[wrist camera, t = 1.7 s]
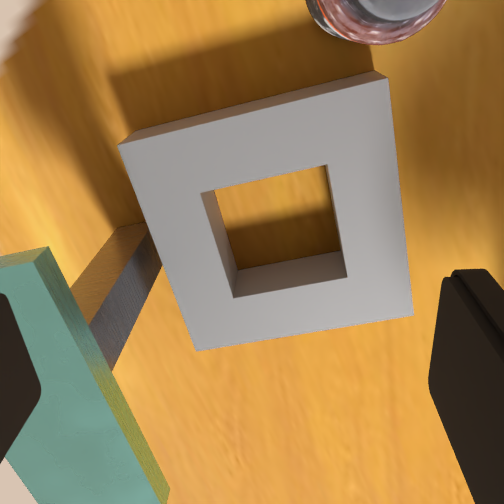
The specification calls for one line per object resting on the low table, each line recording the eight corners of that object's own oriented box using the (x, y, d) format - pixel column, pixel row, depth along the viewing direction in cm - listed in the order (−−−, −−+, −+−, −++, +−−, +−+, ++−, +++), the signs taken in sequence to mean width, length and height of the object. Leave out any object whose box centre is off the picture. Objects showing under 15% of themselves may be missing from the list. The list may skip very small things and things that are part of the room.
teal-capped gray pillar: (154, 141, 31) (32, 261, 16) (212, 308, 37) (164, 511, 22) (75, 161, 32) (-113, 292, 17) (143, 320, 38) (52, 523, 23)
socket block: (374, 70, 28) (388, 77, 25) (400, 285, 35) (413, 315, 32) (135, 130, 31) (117, 145, 27) (204, 320, 38) (196, 351, 34)
